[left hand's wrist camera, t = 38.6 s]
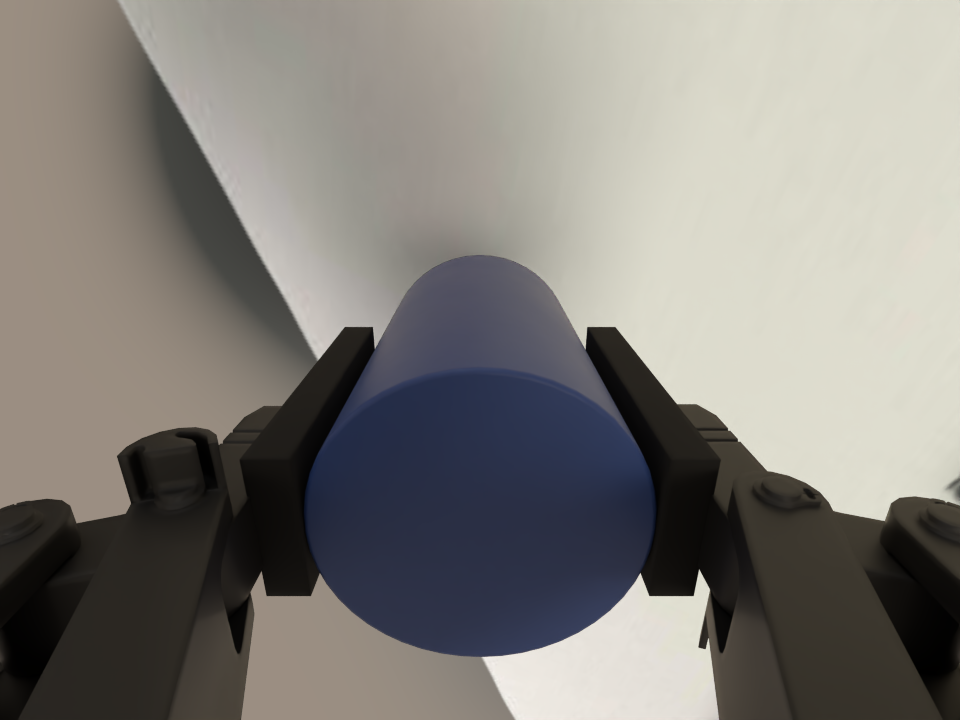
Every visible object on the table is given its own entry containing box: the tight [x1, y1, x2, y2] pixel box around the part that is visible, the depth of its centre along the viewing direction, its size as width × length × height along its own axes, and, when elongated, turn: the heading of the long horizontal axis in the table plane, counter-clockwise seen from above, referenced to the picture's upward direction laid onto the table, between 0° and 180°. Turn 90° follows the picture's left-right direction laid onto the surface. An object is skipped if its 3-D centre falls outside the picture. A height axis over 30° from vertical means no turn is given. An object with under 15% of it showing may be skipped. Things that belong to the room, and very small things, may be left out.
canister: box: [304, 255, 657, 657], centre depth 13 cm, size 6×6×9 cm
